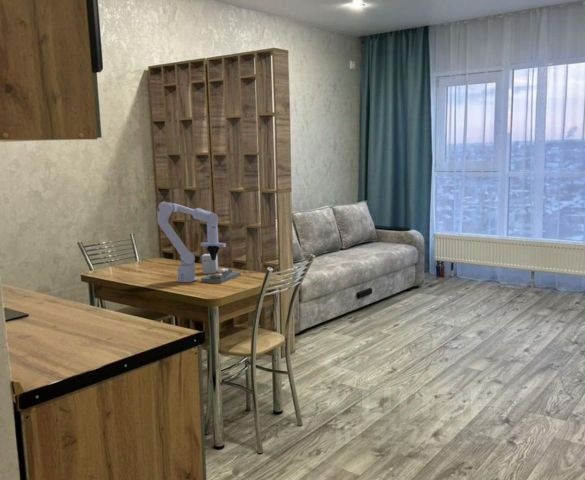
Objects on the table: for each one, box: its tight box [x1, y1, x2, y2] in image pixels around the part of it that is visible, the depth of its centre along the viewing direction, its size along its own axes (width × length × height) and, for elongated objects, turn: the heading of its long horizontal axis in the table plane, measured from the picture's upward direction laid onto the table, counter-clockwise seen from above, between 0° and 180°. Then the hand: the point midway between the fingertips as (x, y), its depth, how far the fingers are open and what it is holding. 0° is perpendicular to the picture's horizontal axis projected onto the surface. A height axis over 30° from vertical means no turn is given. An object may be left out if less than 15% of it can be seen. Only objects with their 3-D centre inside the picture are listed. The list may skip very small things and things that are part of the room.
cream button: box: [217, 267, 225, 273], centre depth 306 cm, size 4×4×2 cm
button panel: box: [200, 268, 242, 284], centre depth 307 cm, size 21×12×3 cm, turn 156°
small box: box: [201, 253, 219, 275], centre depth 324 cm, size 8×6×10 cm
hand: (213, 259), depth 309 cm, fingers closed
